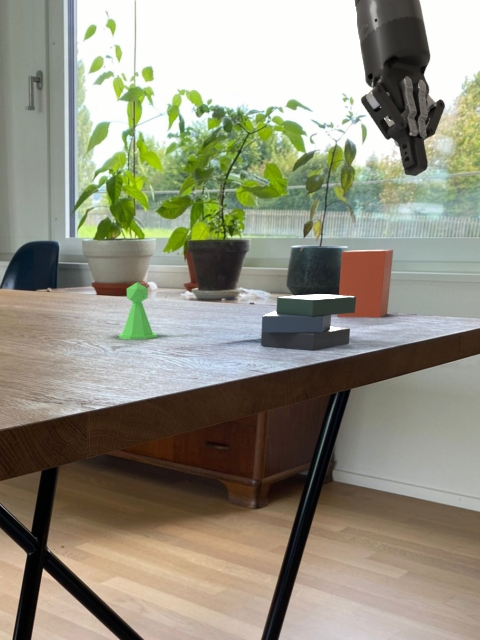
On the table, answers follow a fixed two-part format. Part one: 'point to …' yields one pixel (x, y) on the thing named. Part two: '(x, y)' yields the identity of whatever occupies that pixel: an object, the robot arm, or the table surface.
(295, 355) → the table surface
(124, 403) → the table surface
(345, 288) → the tall orange pillar
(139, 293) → the game piece
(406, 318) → the table surface
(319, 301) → the block pile
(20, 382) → the table surface
